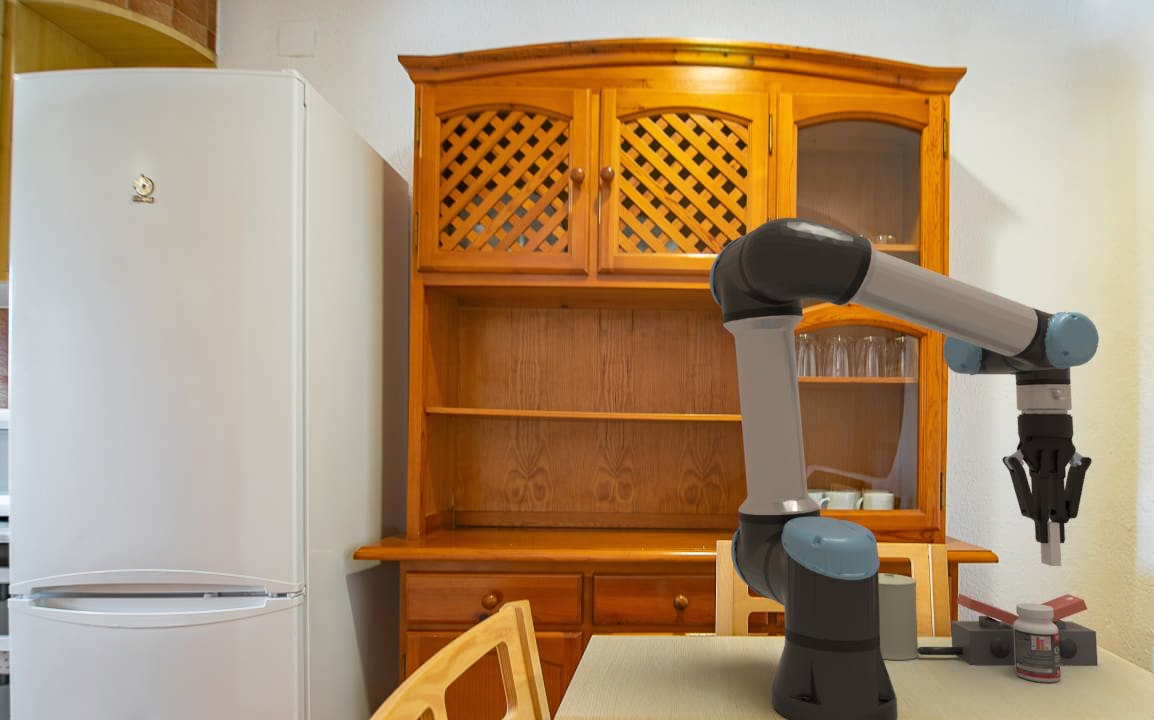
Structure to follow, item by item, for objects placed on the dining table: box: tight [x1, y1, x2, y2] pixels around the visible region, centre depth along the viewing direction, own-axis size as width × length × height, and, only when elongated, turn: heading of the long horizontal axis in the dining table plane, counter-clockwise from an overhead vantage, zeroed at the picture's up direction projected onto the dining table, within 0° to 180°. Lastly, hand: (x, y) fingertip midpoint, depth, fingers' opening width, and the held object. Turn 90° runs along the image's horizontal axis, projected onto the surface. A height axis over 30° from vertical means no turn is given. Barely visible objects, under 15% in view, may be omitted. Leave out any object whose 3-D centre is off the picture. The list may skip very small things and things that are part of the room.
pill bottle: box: [1013, 602, 1062, 684], centre depth 114 cm, size 6×6×10 cm
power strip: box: [918, 615, 1098, 666], centre depth 122 cm, size 26×6×6 cm, turn 89°
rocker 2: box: [1041, 593, 1088, 622], centre depth 123 cm, size 8×4×2 cm, turn 91°
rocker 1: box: [956, 593, 1019, 625], centre depth 123 cm, size 8×4×2 cm, turn 88°
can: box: [879, 572, 920, 661], centre depth 127 cm, size 9×9×12 cm
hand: (1051, 564), depth 123 cm, fingers closed
